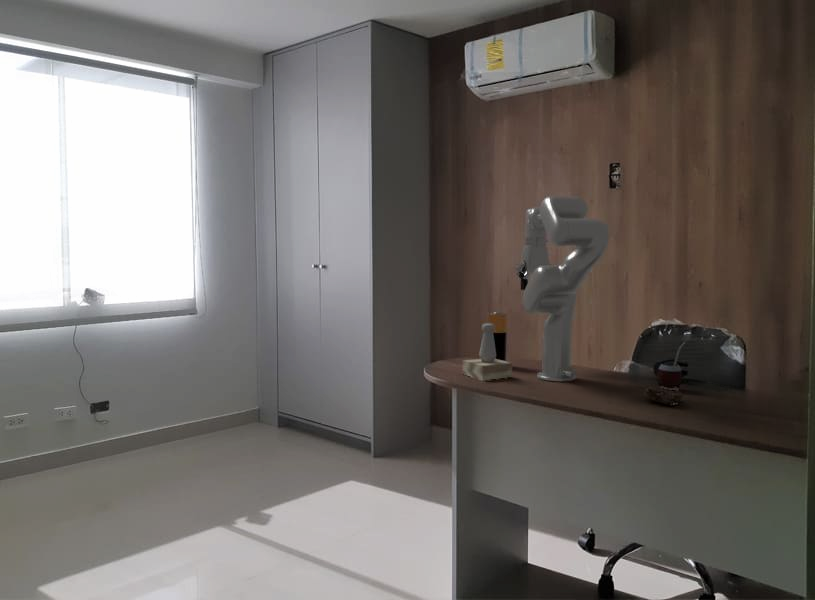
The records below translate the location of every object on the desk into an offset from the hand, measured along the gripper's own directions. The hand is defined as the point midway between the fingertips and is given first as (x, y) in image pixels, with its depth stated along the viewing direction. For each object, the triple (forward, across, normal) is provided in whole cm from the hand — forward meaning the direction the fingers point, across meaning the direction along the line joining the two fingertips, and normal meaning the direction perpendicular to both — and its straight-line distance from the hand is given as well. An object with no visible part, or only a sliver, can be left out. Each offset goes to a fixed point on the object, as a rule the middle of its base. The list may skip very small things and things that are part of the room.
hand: (534, 289), depth 250 cm
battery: (+28, +13, -5) cm, 32 cm away
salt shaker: (+24, +27, +9) cm, 37 cm away
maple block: (+28, +27, +8) cm, 40 cm away
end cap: (+29, -26, +41) cm, 56 cm away
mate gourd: (+28, -12, +52) cm, 61 cm away
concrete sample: (+29, +4, +63) cm, 70 cm away
